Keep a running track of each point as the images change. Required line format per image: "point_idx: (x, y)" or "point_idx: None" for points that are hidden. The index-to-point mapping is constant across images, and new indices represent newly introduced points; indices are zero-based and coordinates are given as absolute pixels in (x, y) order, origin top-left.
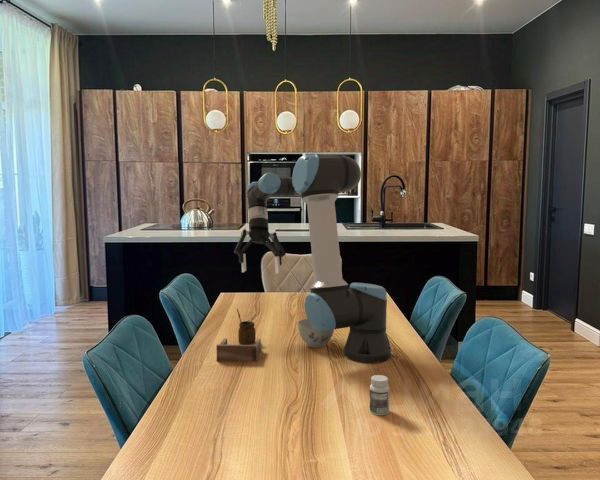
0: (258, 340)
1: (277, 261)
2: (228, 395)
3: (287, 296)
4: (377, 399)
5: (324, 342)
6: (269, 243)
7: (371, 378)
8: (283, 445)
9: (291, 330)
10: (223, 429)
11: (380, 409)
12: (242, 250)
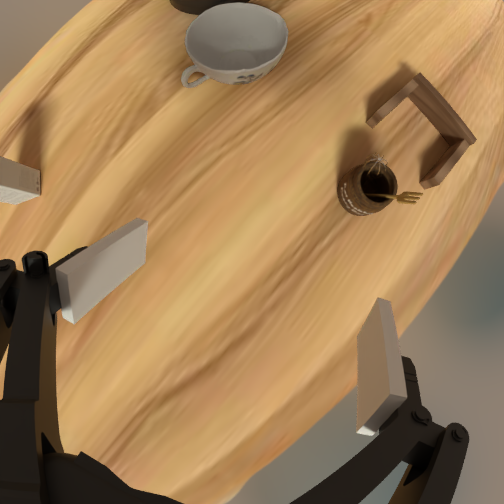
0: (386, 108)
1: (98, 257)
2: (476, 48)
3: None
4: None
5: (243, 34)
6: (31, 396)
7: None
8: None
9: (190, 195)
10: (491, 18)
11: None
12: (415, 428)
